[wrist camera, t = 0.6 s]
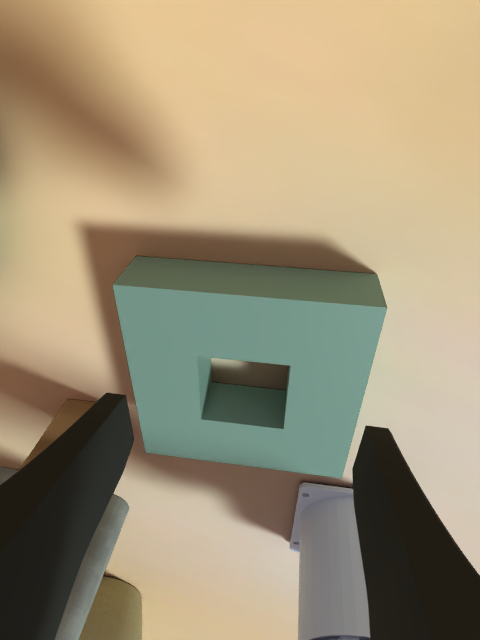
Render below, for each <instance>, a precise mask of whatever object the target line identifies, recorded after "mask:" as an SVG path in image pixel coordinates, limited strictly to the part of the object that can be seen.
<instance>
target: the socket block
mask: <svg viewBox="0 0 480 640" xmlns="http://www.w3.org/2000/svg"><path fill="white" fill-rule="evenodd" d="M113 290H114V295H115V300H116V305H117V310H118V315H119V320H120V325H121V331H122V336H123V341H124V346H125V351H126V356H127V361H128V366H129V371H130V376H131V381H132V386H133V391H134V396H135V401H136V406H137V411H138V417H139V422H140V427H141V432H142V437H143V442H144V447H145V452H146V453H151V454H159V455H167V456H174V457H182V458H190V459H197V460H205V461H213V462H220V463H228V464H236V465H243V466H251V467H259V468H266V469H274V470H281V471H289V472H297V473H304V474H312V475H320V476H327V477H335V478H342V476H343V472H344V468H345V464H346V461H347V457H348V453H349V449H350V446H351V442H352V438H353V434H354V431H355V427H356V423H357V419H358V415H359V412H360V408H361V404H362V400H363V397H364V393H365V389H366V385H367V382H368V378H369V374H370V370H371V367H372V363H373V359H374V355H375V352H376V348H377V344H378V340H379V336H380V333H381V329H382V325H383V321H384V318H385V314H386V310H387V305H386V302H385V299H384V296H383V292H382V289H381V286H380V282H379V279H378V276H377V274H371V273H358V272H344V271H331V270H317V269H304V268H291V267H277V266H264V265H250V264H237V263H224V262H210V261H197V260H183V259H170V258H157V257H143V256H136V257H135V258H134V259H133V260H132V262H131V263H130V264H129V265H128V266H127V268H126V269H125V270H124V271H123V272H122V274H121V275H120V276H119V277H118V279H117V280H116V281H115V282H114V283H113ZM211 358H220V359H230V360H240V361H250V362H260V363H269V364H279V365H289V368H288V377H287V386H286V390H278V389H269V388H260V387H250V386H241V385H232V384H223V383H213V382H212V374H211Z"/></svg>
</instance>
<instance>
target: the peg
mask: <svg viewBox="0 0 480 640" xmlns="http://www.w3.org/2000/svg"><path fill="white" fill-rule="evenodd" d="M95 403H96V402H91V401H82V400H74V399H67V400H66V402H65V403H64V405H63V406H62V408H61V409H60V411H59V412H58V414H57V415H56V417H55V418H54V420H53V421H52V422H51V424H50V425H49V427H48V428H47V430H46V431H45V433H44V434H43V436H42V437H41V439H40V440H39V441H38V443H37V444H36V446H35V447H34V449H33V450H32V452H31V453H30V455H29V456H28V458H27V459H26V461H25V462H24V463H23V465H22V466H21V468H23V467H24V466H25V465H26V464H27V463H29V462H30V461H31V460H32V459H34V458H35V457H36V456H37V455H38V454H40V453H41V452H42V451H43V450H44V449H46V448H47V447H48V446H49V445H50V444H51V443H52V442H54V441H55V440H56V439H57V438H58V437H59V436H60V435H61V434H63V433H64V432H65V431H66V430H67V429H68V428H69V427H70V426H71V425H73V424H74V423H75V422H76V421H77V420H78V419H79V418H80V417H81V416H82V415H83V414H84V413H85V412H86V411H88V410H89V409H90V408H91V407H92V406H93V405H94V404H95ZM21 468H20V469H21ZM20 469H19V470H20Z"/></svg>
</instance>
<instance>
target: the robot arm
mask: <svg viewBox="0 0 480 640" xmlns="http://www.w3.org/2000/svg"><path fill="white" fill-rule="evenodd" d="M133 441H134V435H133V430H132V425H131V420H130V414H129V409H128V404H127V399H126V395H120V394H112V393H106V394H105V395H104V396H102V397H101V398H100V399H99V400H98V401H97V402H96V403H95V404H94V405H93V406H92V407H91V408H90V409H89V410H88V411H86V412H85V413H84V414H83V415H82V416H81V417H80V418H79V419H78V420H77V421H76V422H75V423H74V424H73V425H71V426H70V427H69V428H68V429H67V430H66V431H65V432H64V433H63V434H61V435H60V436H59V437H58V438H57V439H56V440H55V441H54V442H52V443H51V444H50V445H49V446H48V447H47V448H46V449H44V450H43V451H42V452H41V453H40V454H38V455H37V456H36V457H35V458H34V459H32V460H31V461H30V462H29V463H27V464H26V465H25V466H24V467H23V468H21V469H20V470H19V471H18V472H16V473H15V474H14V475H13V476H11V477H10V478H9V479H7V480H6V481H5V482H3V483H2V484H1V485H0V640H55V637H56V634H57V631H58V628H59V625H60V622H61V619H62V616H63V613H64V611H65V608H66V605H67V602H68V599H69V596H70V593H71V590H72V588H73V585H74V582H75V580H76V577H77V574H78V571H79V569H80V566H81V563H82V560H83V558H84V555H85V553H86V551H87V548H88V546H89V544H90V541H91V539H92V537H93V535H94V533H95V531H96V529H97V527H98V524H99V522H100V520H101V518H102V516H103V514H104V512H105V510H106V508H107V505H108V503H109V501H110V499H111V497H112V495H113V493H114V491H115V488H116V486H117V484H118V482H119V480H120V478H121V475H122V473H123V471H124V468H125V465H126V462H127V460H128V457H129V454H130V451H131V447H132V444H133ZM290 549H291V550H292V551H294V552H300V557H299V614H298V640H480V575H479V574H478V573H477V571H476V570H475V569H474V567H473V566H472V565H471V563H470V562H469V561H468V559H467V558H466V557H465V555H464V554H463V552H462V551H461V550H460V548H459V547H458V545H457V544H456V542H455V541H454V539H453V538H452V536H451V535H450V533H449V532H448V530H447V529H446V527H445V526H444V524H443V523H442V521H441V520H440V518H439V517H438V515H437V514H436V512H435V510H434V509H433V507H432V506H431V504H430V502H429V501H428V499H427V497H426V496H425V494H424V492H423V491H422V489H421V487H420V486H419V484H418V482H417V481H416V479H415V477H414V475H413V474H412V472H411V470H410V468H409V466H408V464H407V463H406V461H405V459H404V457H403V455H402V453H401V451H400V449H399V448H398V446H397V444H396V442H395V440H394V438H393V436H392V434H391V432H390V430H389V429H388V428H380V427H373V426H366V427H365V430H364V434H363V437H362V440H361V443H360V446H359V450H358V453H357V456H356V459H355V463H354V466H353V489H351V488H344V487H336V486H329V485H321V484H314V483H302V484H300V486H299V492H298V498H297V504H296V510H295V516H294V522H293V528H292V534H291V540H290Z"/></svg>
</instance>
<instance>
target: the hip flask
mask: <svg viewBox="0 0 480 640" xmlns="http://www.w3.org/2000/svg"><path fill="white" fill-rule="evenodd" d="M18 471H19V470H16V469H11V468H5V467H0V485H1V484H2V483H3V482H5V481H6V480H7V479H9V478H10V477H11V476H13V475H14V474H15V473H16V472H18ZM128 510H129V506H128V504H127V502H126V501H125V500H123V499H122V498H120V497H118V496H116V495H112V497H111V499H110V501H109V503H108V505H107V508H106V510H105V512H104V514H103V516H102V518H101V520H100V522H99V524H98V527H97V529H96V531H95V533H94V535H93V537H92V539H91V541H90V544H89V546H88V548H87V551H86V553H85V555H84V558H83V560H82V563H81V566H80V569H79V571H78V574H77V577H76V580H75V582H74V585H73V588H72V590H71V593H70V596H69V599H68V602H67V605H66V608H65V611H64V613H63V616H62V619H61V622H60V625H59V628H58V631H57V634H56V637H55V640H78V639H79V637H80V634H81V632H82V629H83V626H84V624H85V621H86V619H87V616H88V613H89V611H90V608H91V606H92V603H93V601H94V598H95V595H96V593H97V590H98V588H99V585H100V583H101V580H102V577H103V575H104V572H105V570H106V567H107V564H108V562H109V559H110V557H111V554H112V552H113V549H114V546H115V544H116V541H117V539H118V536H119V533H120V531H121V528H122V526H123V523H124V521H125V518H126V515H127V513H128Z"/></svg>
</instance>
